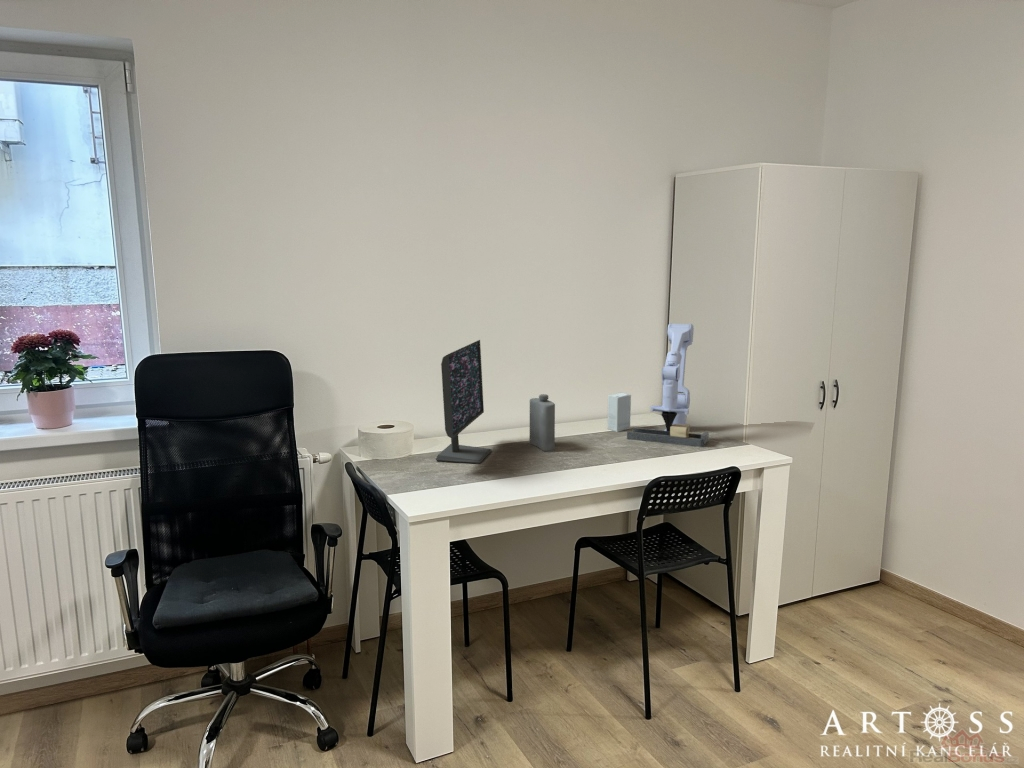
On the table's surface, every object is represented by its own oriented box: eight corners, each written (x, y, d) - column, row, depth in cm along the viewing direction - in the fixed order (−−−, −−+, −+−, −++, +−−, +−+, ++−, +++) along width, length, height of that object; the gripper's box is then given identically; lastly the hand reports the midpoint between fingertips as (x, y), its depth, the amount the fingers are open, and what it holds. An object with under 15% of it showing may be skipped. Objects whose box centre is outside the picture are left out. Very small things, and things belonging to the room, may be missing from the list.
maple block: (673, 436, 301) (674, 423, 300) (689, 437, 299) (689, 425, 298) (669, 439, 296) (670, 426, 295) (685, 441, 293) (685, 428, 293)
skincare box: (620, 426, 323) (621, 392, 321) (630, 429, 319) (631, 394, 316) (606, 429, 318) (607, 394, 316) (617, 432, 313) (617, 396, 311)
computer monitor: (470, 474, 254) (469, 354, 247) (424, 472, 257) (421, 353, 250) (499, 443, 296) (499, 339, 289) (458, 441, 299) (457, 339, 292)
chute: (633, 434, 310) (633, 423, 309) (708, 441, 297) (708, 430, 296) (626, 438, 302) (627, 427, 301) (703, 447, 289) (704, 435, 289)
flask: (558, 450, 285) (559, 397, 281) (544, 452, 282) (545, 398, 279) (541, 441, 298) (541, 391, 295) (527, 443, 296) (527, 392, 292)
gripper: (648, 396, 296) (647, 431, 298) (686, 399, 290) (685, 434, 292) (653, 393, 302) (652, 427, 305) (690, 396, 296) (689, 430, 298)
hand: (668, 430), depth 299 cm, fingers closed
